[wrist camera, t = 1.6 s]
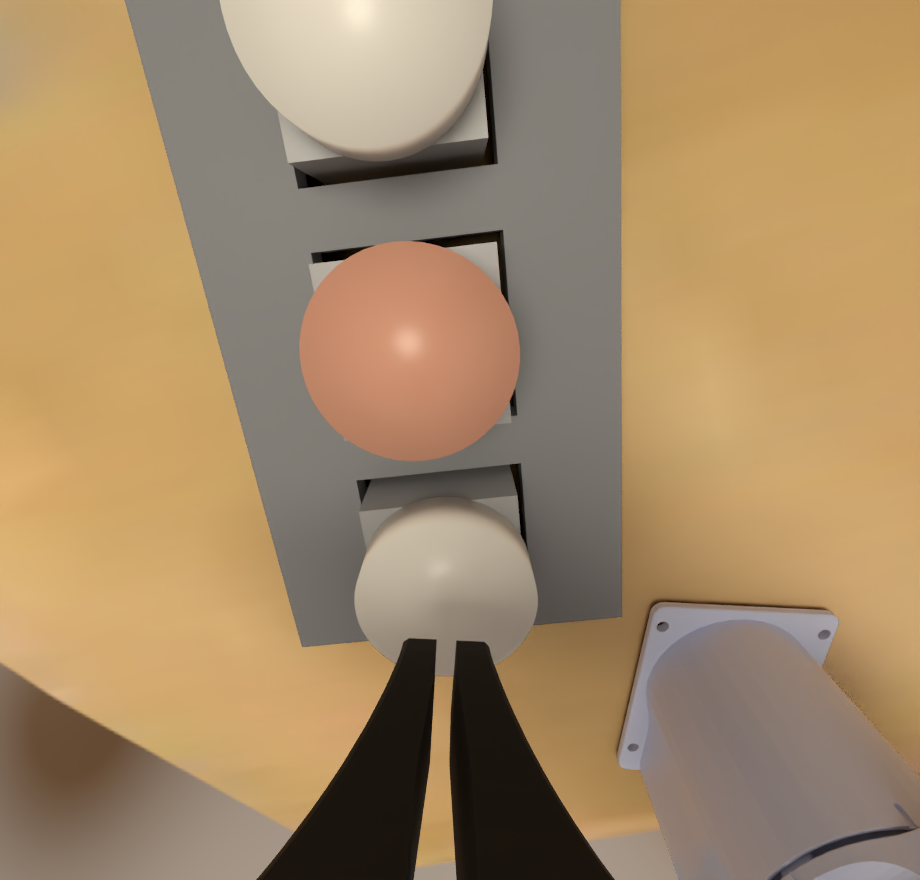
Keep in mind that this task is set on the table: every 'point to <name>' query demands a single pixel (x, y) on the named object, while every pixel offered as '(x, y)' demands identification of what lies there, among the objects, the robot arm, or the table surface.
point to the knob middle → (411, 348)
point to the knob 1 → (369, 82)
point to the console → (417, 219)
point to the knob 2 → (445, 564)
